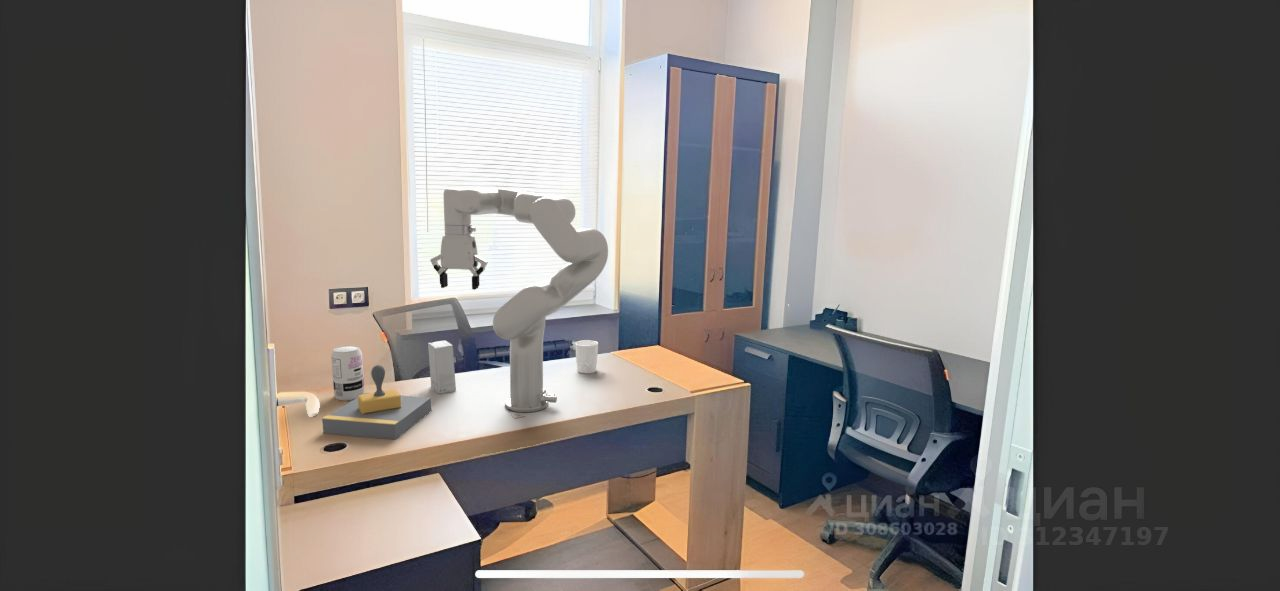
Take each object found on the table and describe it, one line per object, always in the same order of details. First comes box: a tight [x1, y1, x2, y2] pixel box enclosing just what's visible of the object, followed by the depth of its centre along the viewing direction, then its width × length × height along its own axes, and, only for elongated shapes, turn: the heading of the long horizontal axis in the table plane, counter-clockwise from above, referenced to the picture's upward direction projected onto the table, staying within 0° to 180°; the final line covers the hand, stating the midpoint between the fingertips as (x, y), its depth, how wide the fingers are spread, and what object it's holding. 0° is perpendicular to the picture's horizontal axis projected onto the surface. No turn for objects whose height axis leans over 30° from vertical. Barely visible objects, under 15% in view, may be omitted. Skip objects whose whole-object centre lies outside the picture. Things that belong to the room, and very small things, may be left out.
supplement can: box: [330, 345, 365, 402], centre depth 189 cm, size 8×8×15 cm
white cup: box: [575, 339, 599, 374], centre depth 221 cm, size 8×8×10 cm
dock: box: [321, 392, 433, 440], centre depth 172 cm, size 20×20×4 cm
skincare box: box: [427, 339, 457, 395], centre depth 198 cm, size 8×6×15 cm
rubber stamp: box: [358, 364, 402, 414], centre depth 171 cm, size 10×6×12 cm, turn 123°
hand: (459, 287), depth 189 cm, fingers open, 9 cm apart
